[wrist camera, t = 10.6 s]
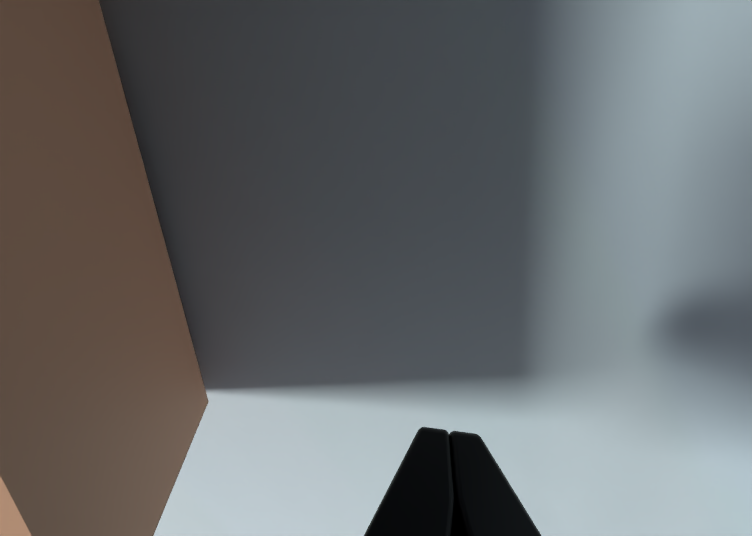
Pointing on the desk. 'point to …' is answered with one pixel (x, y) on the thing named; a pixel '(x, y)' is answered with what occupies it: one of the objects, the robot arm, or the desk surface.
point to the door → (83, 292)
